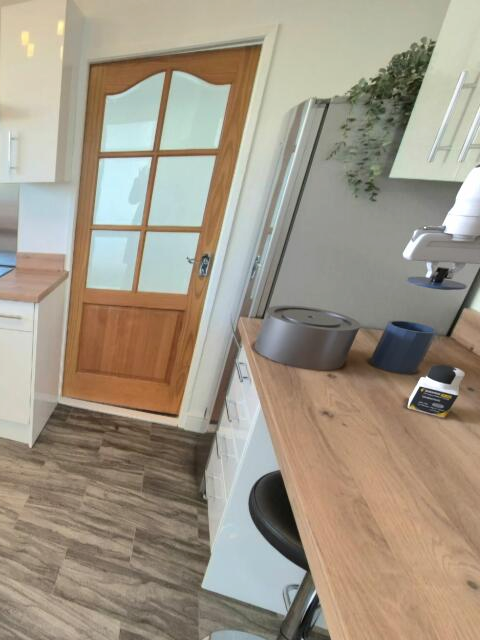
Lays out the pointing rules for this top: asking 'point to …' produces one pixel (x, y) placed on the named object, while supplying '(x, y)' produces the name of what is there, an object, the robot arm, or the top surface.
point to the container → (306, 337)
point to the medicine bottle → (437, 390)
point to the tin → (403, 346)
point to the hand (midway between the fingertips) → (438, 278)
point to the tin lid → (437, 281)
